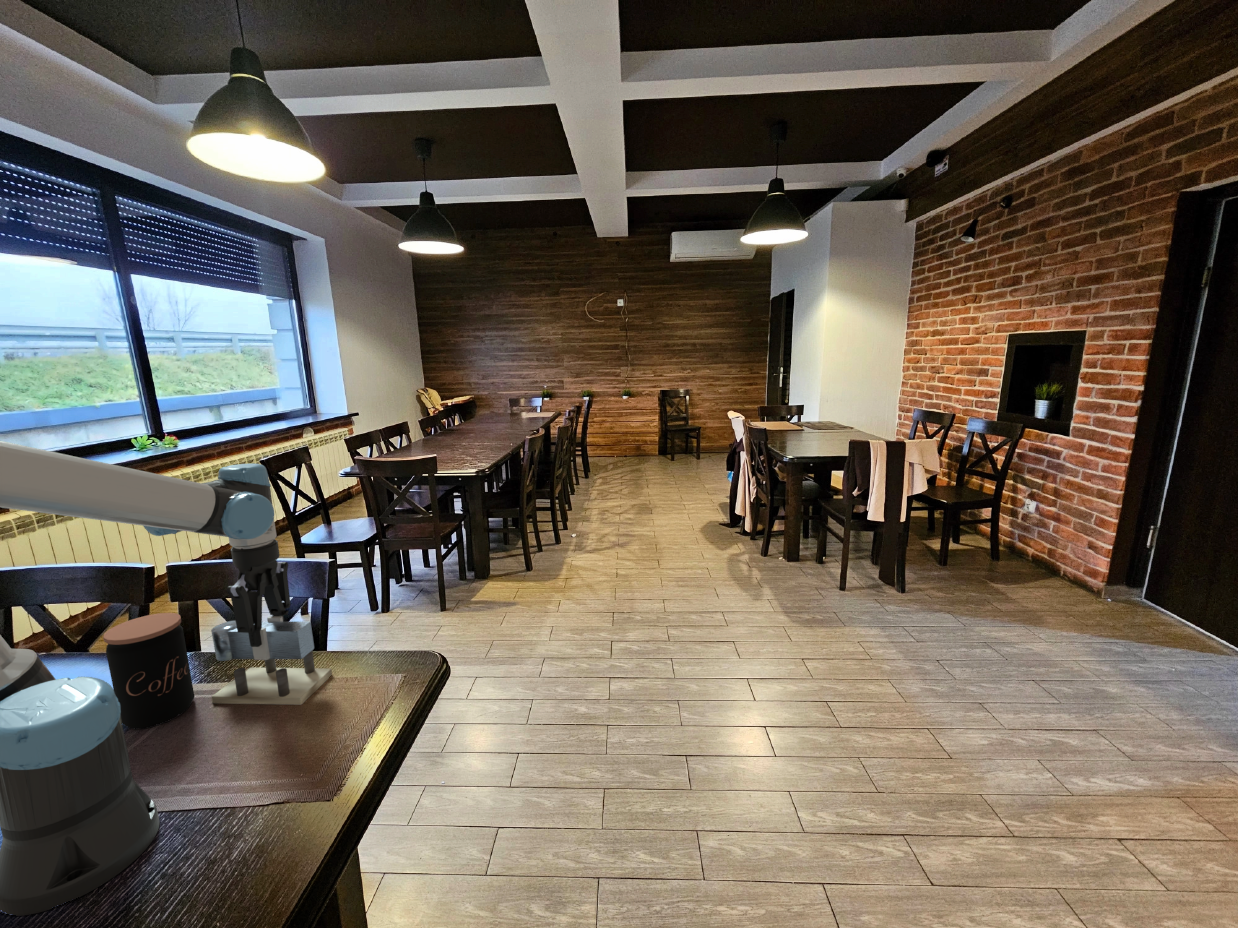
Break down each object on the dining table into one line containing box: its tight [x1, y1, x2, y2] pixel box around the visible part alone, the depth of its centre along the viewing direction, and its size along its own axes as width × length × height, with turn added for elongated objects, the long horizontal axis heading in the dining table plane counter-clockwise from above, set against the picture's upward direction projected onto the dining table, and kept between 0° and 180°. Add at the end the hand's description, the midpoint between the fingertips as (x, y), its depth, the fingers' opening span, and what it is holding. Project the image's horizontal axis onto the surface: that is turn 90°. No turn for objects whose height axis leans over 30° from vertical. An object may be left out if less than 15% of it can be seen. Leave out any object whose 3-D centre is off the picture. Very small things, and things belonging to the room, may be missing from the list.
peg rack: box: [211, 650, 333, 706], centre depth 103 cm, size 10×18×6 cm, turn 87°
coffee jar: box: [102, 612, 195, 730], centre depth 95 cm, size 11×11×18 cm
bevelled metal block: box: [210, 619, 315, 662], centre depth 102 cm, size 19×5×6 cm, turn 87°
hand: (270, 652), depth 102 cm, fingers closed on bevelled metal block, 4 cm apart
